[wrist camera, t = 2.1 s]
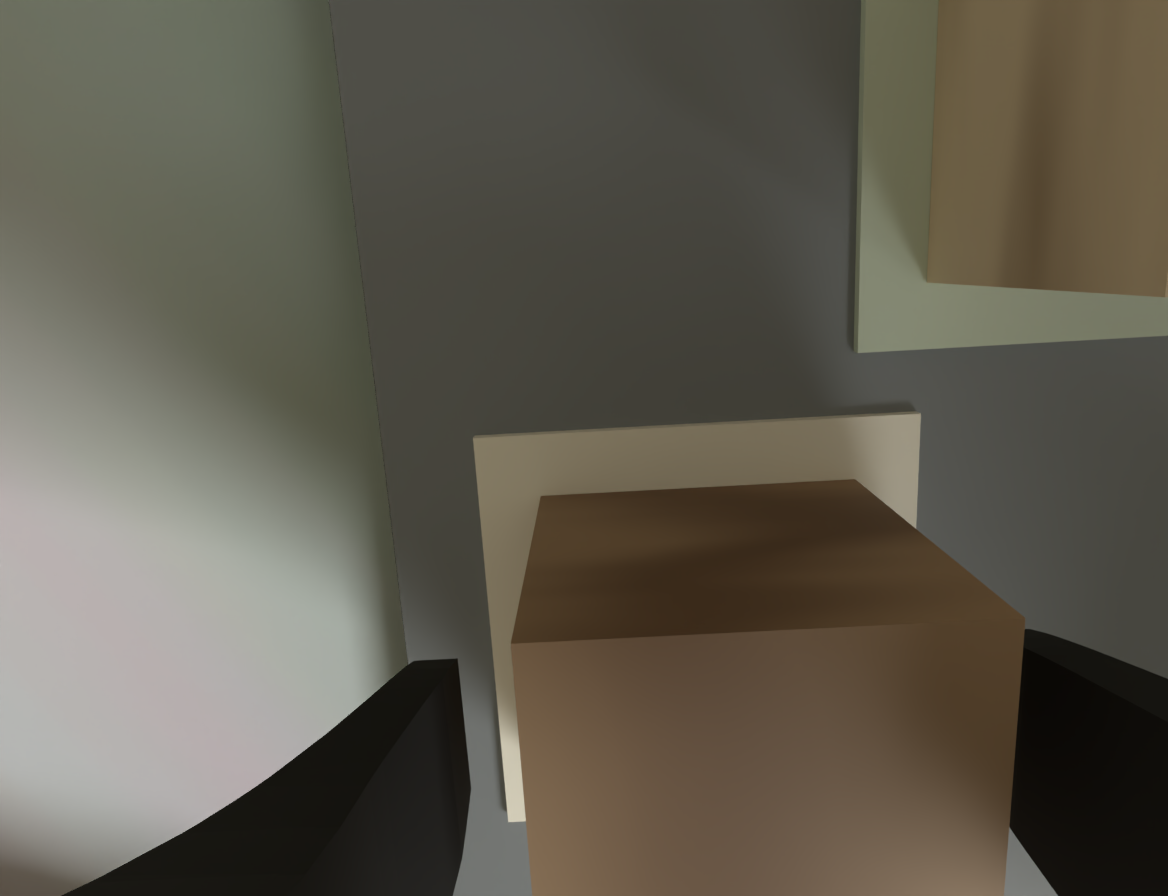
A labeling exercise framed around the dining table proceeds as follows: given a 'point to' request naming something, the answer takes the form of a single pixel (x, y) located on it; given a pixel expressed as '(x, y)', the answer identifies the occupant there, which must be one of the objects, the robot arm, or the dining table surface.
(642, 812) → the walnut block
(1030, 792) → the robot arm
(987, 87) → the oak block
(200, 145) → the dining table surface
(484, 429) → the board
